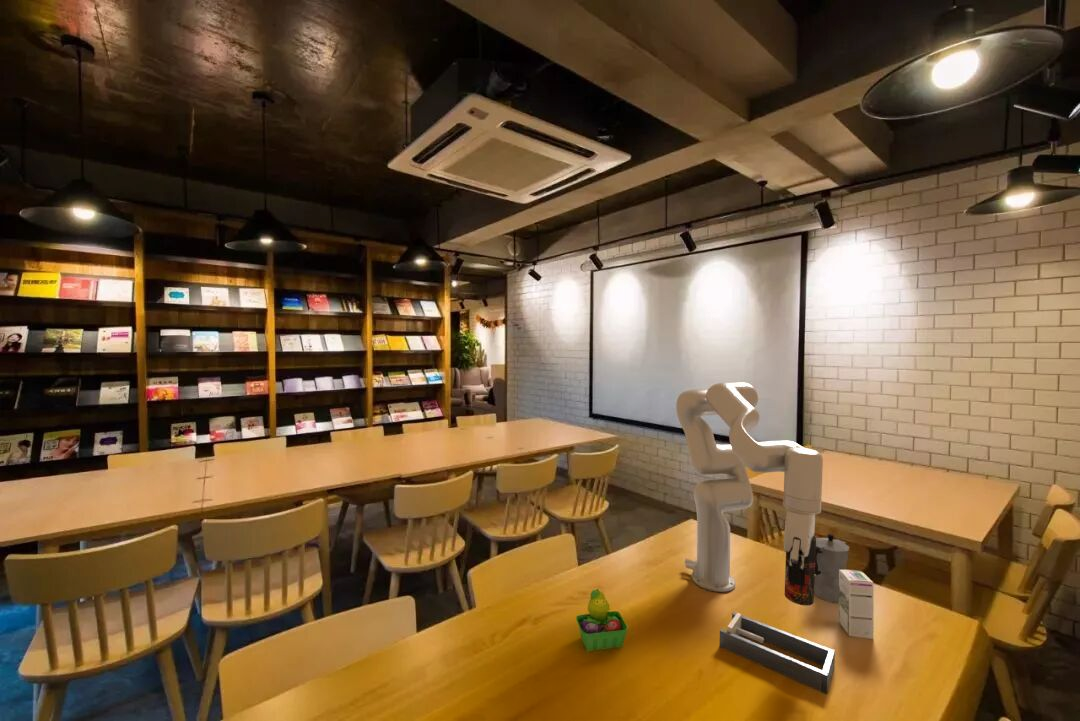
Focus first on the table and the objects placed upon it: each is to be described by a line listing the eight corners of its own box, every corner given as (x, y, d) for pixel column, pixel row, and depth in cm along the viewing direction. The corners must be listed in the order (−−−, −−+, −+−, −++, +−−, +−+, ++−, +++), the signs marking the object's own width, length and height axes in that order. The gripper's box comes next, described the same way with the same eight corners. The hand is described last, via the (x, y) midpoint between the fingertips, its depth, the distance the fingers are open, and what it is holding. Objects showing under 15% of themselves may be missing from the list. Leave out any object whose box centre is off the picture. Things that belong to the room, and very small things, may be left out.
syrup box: (874, 639, 108) (875, 582, 108) (847, 636, 109) (848, 579, 109) (862, 625, 114) (863, 570, 113) (837, 622, 115) (838, 568, 115)
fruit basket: (583, 655, 103) (582, 608, 103) (574, 631, 112) (574, 588, 112) (629, 650, 105) (629, 604, 105) (616, 627, 114) (616, 584, 113)
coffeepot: (827, 581, 135) (827, 524, 135) (860, 597, 127) (861, 536, 126) (795, 594, 128) (795, 533, 128) (828, 611, 120) (829, 546, 119)
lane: (719, 646, 106) (719, 630, 106) (733, 627, 113) (733, 611, 113) (826, 694, 91) (827, 675, 91) (834, 667, 99) (834, 650, 99)
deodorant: (778, 591, 105) (780, 530, 104) (801, 589, 106) (803, 529, 105) (796, 606, 99) (798, 542, 98) (820, 604, 100) (822, 540, 99)
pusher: (727, 644, 106) (727, 626, 106) (737, 629, 111) (737, 612, 111) (758, 658, 101) (758, 639, 101) (767, 642, 107) (767, 623, 107)
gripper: (790, 488, 110) (788, 558, 111) (775, 509, 97) (773, 587, 98) (826, 495, 106) (823, 568, 107) (815, 518, 92) (812, 600, 93)
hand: (799, 576), depth 102 cm, fingers closed on deodorant, 5 cm apart
